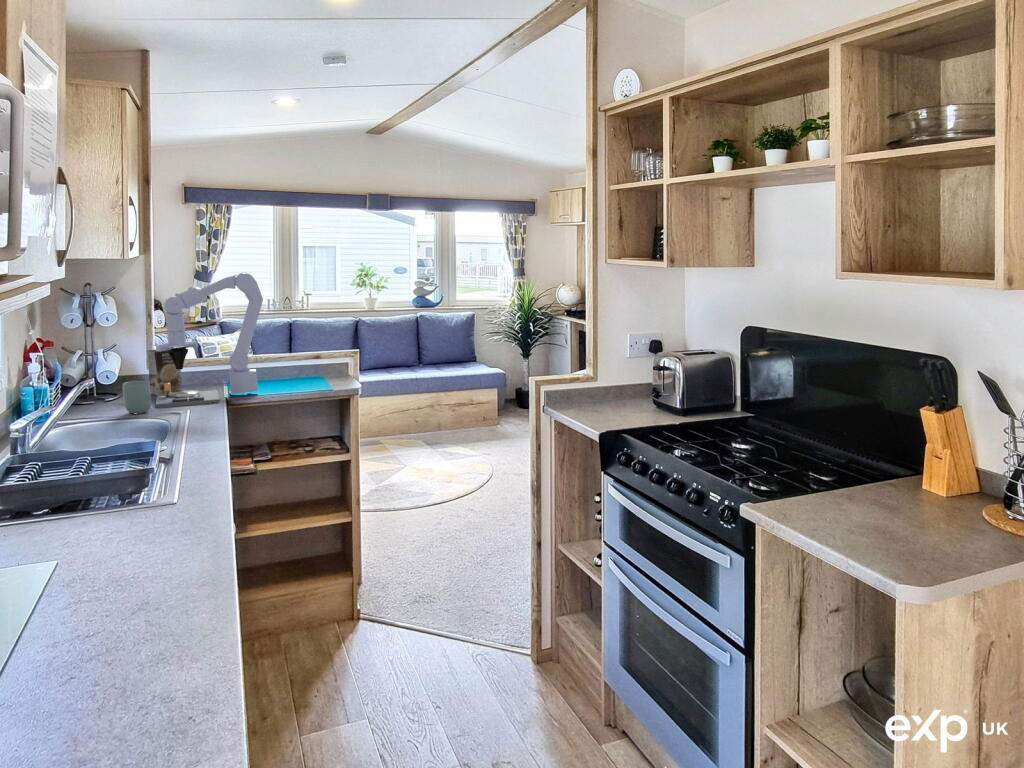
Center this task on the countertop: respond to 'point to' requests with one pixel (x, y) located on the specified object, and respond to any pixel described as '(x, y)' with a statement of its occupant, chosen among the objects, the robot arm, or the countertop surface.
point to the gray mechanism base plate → (187, 399)
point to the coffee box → (163, 372)
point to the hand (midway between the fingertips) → (179, 369)
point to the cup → (137, 396)
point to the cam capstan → (179, 394)
